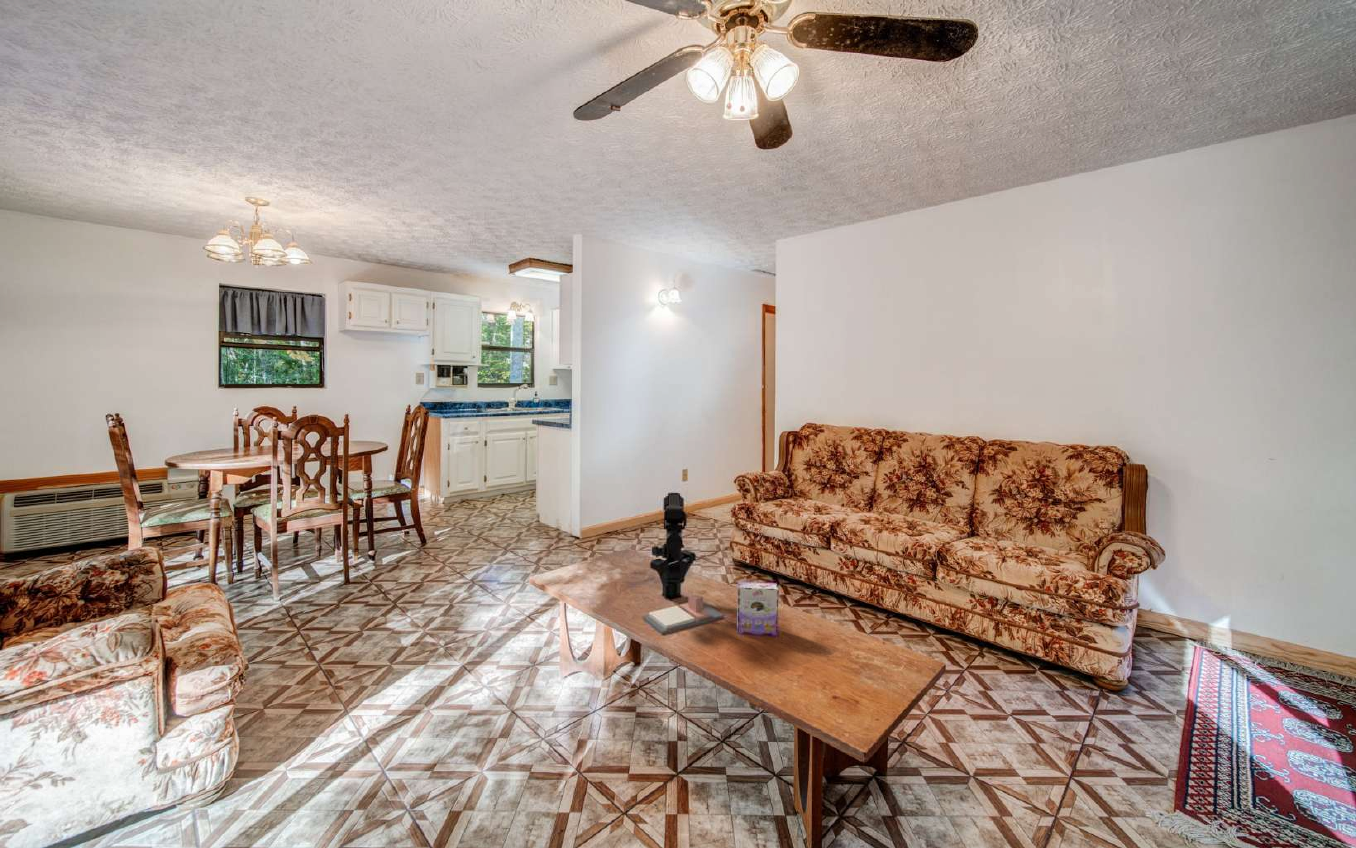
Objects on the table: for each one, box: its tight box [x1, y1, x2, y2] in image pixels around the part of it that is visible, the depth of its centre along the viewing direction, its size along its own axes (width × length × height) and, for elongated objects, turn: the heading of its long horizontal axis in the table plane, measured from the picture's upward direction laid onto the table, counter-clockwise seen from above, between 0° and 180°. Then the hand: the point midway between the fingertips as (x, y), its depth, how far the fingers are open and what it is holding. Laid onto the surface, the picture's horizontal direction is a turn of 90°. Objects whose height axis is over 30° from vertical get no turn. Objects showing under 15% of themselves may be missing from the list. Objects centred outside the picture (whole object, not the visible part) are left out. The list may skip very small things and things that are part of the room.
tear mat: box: [641, 602, 724, 635], centre depth 190 cm, size 26×14×1 cm, turn 122°
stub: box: [679, 592, 711, 620], centre depth 193 cm, size 6×12×6 cm, turn 32°
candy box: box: [736, 581, 779, 636], centre depth 181 cm, size 14×6×16 cm, turn 84°
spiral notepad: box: [648, 605, 695, 629], centre depth 188 cm, size 13×12×1 cm
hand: (673, 583), depth 193 cm, fingers open, 9 cm apart
